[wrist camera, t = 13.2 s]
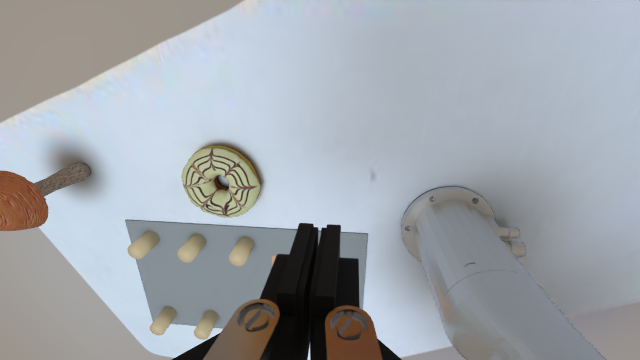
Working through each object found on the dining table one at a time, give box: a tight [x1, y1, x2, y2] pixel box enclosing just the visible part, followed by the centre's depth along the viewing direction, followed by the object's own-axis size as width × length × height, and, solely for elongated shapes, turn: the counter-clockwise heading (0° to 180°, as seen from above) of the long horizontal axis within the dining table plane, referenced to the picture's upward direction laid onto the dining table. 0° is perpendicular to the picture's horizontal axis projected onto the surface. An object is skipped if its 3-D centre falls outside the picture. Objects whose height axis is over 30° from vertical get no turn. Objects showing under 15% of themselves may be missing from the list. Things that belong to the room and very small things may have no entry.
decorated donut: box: [182, 146, 261, 217], centre depth 43 cm, size 10×11×4 cm
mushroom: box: [0, 163, 91, 231], centre depth 39 cm, size 8×8×15 cm
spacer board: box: [125, 220, 368, 340], centre depth 49 cm, size 39×22×4 cm, turn 90°
